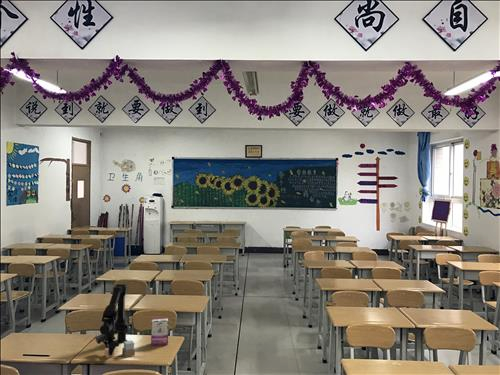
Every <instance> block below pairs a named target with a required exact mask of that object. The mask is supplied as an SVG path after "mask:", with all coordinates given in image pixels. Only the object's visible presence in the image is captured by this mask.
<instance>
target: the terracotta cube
mask: <svg viewBox="0 0 500 375" xmlns="http://www.w3.org/2000/svg"><path fill="white" fill-rule="evenodd" d="M104 355H105V356H106V357H105V356H104V357H105V359H108V358H114V357H115V350H114V351H113V353H112V355H111V356H109V349H108V348H106V347H105V348H104Z"/></svg>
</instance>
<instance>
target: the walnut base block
mask: <svg viewBox="0 0 500 375" xmlns="http://www.w3.org/2000/svg"><path fill="white" fill-rule="evenodd" d="M121 349H122V352H121V355H122V356H123V357H124V358H128V357H134V356H135V355H136V349H135V348H134V349H133V350H127V351H126V350H125V349H124V347H122V348H121Z"/></svg>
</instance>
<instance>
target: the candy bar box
mask: <svg viewBox="0 0 500 375" xmlns="http://www.w3.org/2000/svg"><path fill="white" fill-rule="evenodd" d="M150 329H151V334H150V335H151V336H150V338H151V340H150V341H151V342H150V346H165V345H166V346H167V345H169V318H155V319H154V318H152V319H151V327H150Z"/></svg>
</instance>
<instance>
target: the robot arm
mask: <svg viewBox="0 0 500 375" xmlns="http://www.w3.org/2000/svg"><path fill="white" fill-rule="evenodd" d="M128 291H129V286H128V285H127V284H126V283H117V284H116V285H113V288H112V294H111V297H110V301H109V303H108V305H107V306H106V307H105V309H104V310H103V313H102V316H101V317H102V318H101V322H102V325H101V326H100V328H99V332H100V333H101V334H99V335H97V336H95V337H94V339H95V342H96V344H97V345H100V344H104V346H105V348H108V349H109V356H111V355H112V353H113V351H114V352H115V350H116V347H119V346H120V344H122V343H124V342H125V341H128V339H127V334H128V333H130V327H129V324H128V320H127V318H126V317H125V314H126V313H125V306H126V305H125V304H126V303H125V302H126V300H125V298H126V296H127V293H128ZM115 334H117V335H116V337H115Z"/></svg>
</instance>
